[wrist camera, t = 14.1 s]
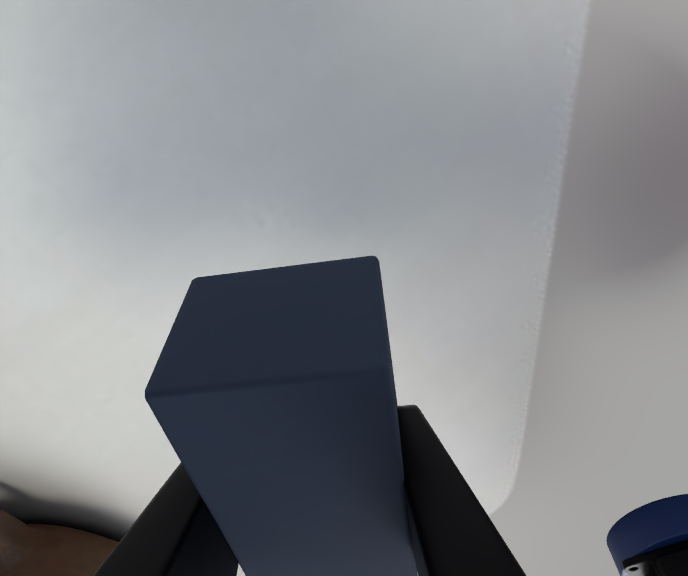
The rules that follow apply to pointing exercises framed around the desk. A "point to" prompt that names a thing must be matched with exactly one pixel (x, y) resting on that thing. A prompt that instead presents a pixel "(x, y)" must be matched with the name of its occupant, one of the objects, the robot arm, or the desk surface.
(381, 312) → the eraser
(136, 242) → the desk surface
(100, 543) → the dish
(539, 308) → the desk surface
